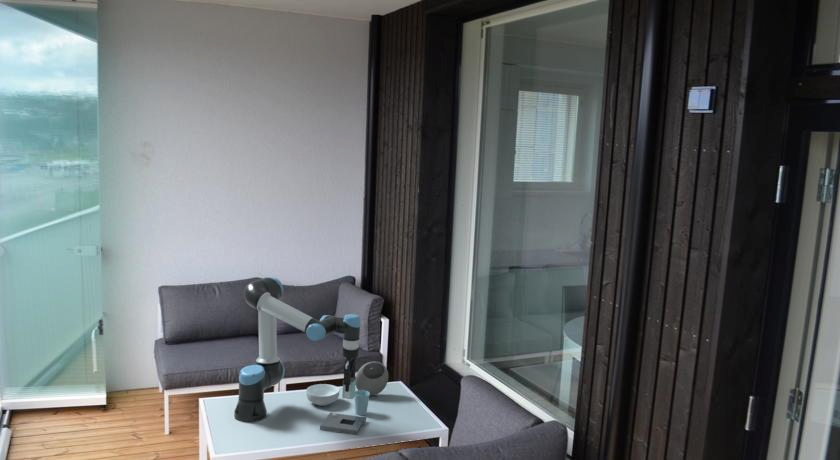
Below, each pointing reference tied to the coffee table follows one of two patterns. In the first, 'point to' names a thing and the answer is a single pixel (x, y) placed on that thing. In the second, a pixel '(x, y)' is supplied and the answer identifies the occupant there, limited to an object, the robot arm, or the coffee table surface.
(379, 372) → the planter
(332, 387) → the cereal bowl
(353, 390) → the plug
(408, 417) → the coffee table surface
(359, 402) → the cup
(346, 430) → the socket plate
